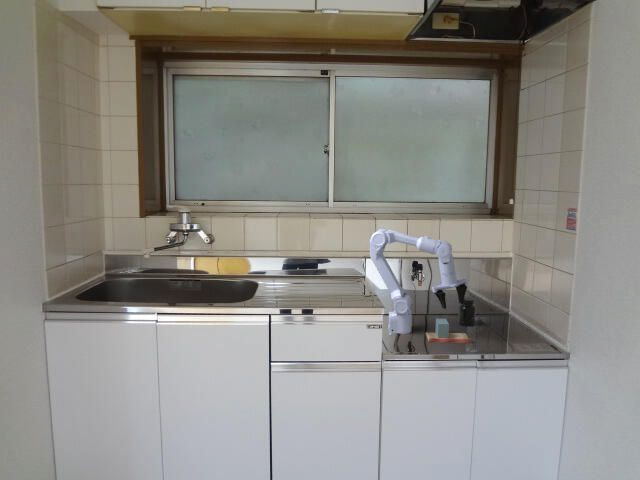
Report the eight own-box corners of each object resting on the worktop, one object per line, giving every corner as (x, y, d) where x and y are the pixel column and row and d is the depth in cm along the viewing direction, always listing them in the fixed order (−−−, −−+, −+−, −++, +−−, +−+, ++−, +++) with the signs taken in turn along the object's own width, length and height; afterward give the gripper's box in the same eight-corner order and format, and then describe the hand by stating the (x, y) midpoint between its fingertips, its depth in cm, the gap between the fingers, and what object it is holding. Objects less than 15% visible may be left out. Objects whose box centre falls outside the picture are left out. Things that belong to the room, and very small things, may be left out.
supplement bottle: (476, 329, 188) (477, 301, 186) (459, 328, 189) (460, 301, 187) (473, 323, 195) (475, 297, 192) (457, 322, 196) (458, 296, 194)
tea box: (437, 338, 176) (438, 323, 175) (435, 332, 182) (435, 318, 181) (448, 338, 176) (449, 324, 175) (445, 332, 182) (446, 318, 181)
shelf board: (429, 344, 173) (429, 338, 172) (425, 334, 183) (425, 329, 182) (471, 345, 172) (471, 339, 171) (465, 335, 181) (465, 329, 181)
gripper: (436, 278, 170) (441, 312, 171) (469, 269, 173) (474, 303, 174) (427, 275, 177) (432, 308, 178) (460, 267, 180) (465, 300, 181)
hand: (453, 305), depth 177 cm, fingers open, 7 cm apart
